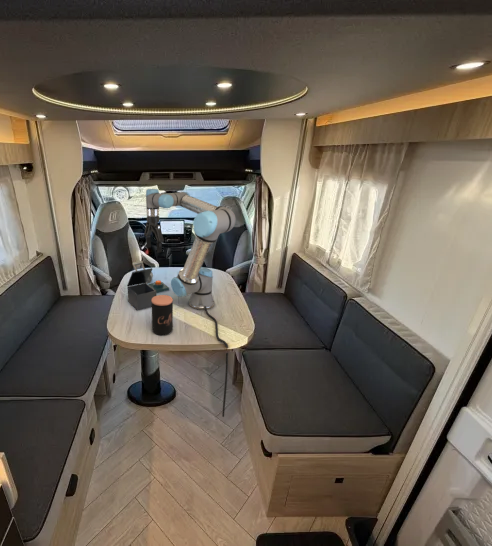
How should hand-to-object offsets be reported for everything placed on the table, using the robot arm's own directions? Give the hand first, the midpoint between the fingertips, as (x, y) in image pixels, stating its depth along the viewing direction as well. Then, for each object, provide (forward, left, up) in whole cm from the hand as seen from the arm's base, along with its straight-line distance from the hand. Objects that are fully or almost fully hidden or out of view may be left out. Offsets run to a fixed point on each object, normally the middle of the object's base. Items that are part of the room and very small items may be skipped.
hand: (153, 249), depth 192 cm
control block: (+6, -6, -30) cm, 31 cm away
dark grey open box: (-9, +13, -30) cm, 34 cm away
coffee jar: (-43, +17, -30) cm, 55 cm away
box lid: (-7, +13, -14) cm, 20 cm away
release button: (+6, -6, -26) cm, 28 cm away
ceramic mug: (+22, -4, -30) cm, 38 cm away
